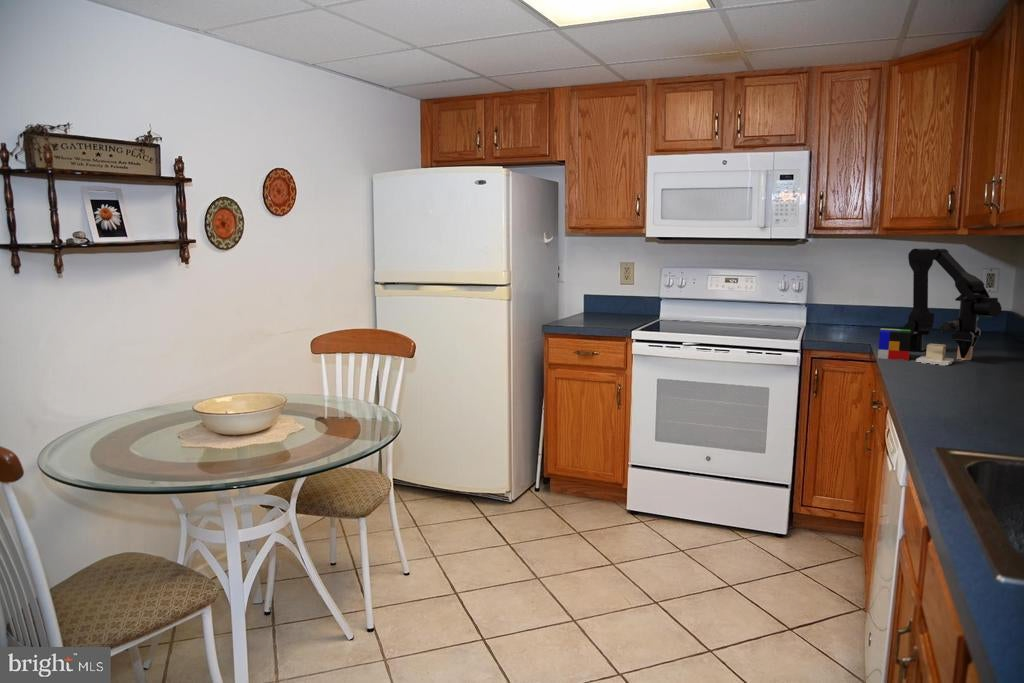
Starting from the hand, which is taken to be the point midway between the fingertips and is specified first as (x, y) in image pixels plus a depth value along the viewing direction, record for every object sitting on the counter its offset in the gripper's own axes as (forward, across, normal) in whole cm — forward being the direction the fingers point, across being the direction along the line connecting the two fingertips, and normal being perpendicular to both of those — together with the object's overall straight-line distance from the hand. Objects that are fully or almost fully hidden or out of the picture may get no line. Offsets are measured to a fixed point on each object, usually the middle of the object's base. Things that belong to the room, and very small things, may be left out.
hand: (964, 356), depth 264 cm
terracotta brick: (+1, 0, 0) cm, 1 cm away
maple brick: (0, +13, -7) cm, 15 cm away
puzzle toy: (+1, +11, -21) cm, 24 cm away
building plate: (+1, +13, -7) cm, 15 cm away
